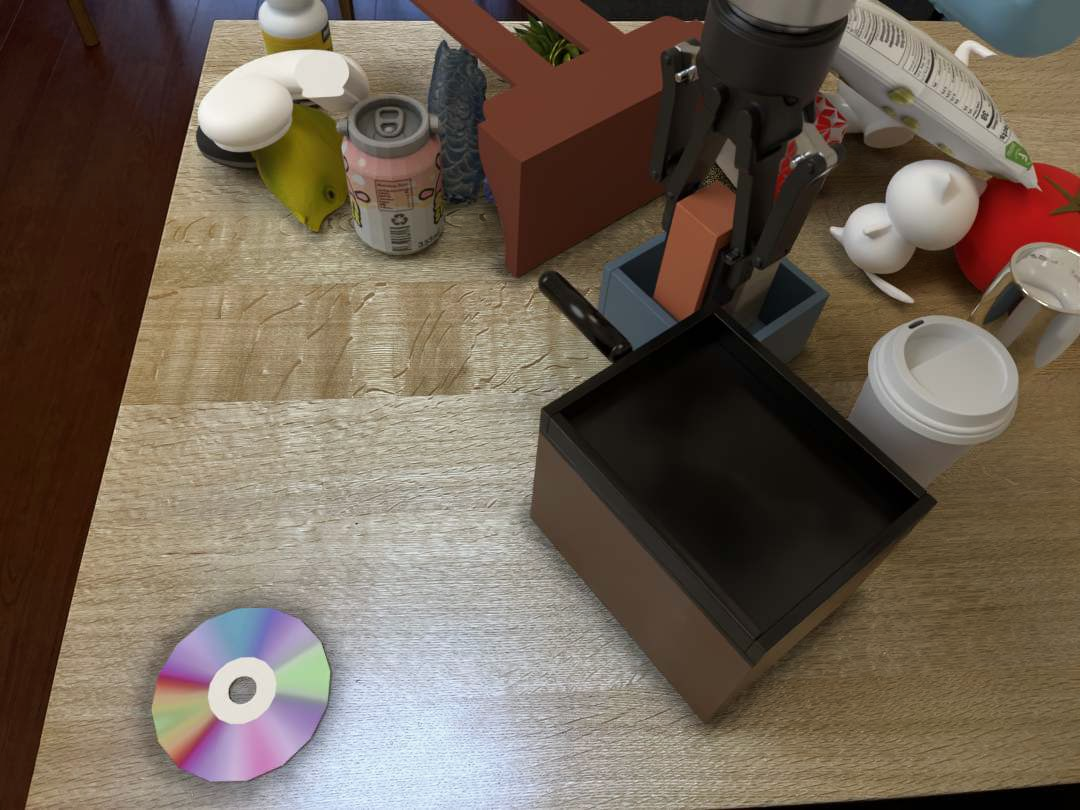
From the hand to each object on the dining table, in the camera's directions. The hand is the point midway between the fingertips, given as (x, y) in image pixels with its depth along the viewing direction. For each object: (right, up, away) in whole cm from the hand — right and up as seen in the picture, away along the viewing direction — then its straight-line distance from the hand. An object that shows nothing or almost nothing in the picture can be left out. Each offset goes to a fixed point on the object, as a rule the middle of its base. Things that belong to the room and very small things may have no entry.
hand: (694, 285), depth 66 cm
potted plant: (-9, +18, +22) cm, 30 cm away
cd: (-31, -27, -10) cm, 42 cm away
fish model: (-20, +18, +21) cm, 34 cm away
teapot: (+23, +17, +21) cm, 36 cm away
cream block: (+4, -2, +9) cm, 10 cm away
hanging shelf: (-4, +12, +10) cm, 16 cm away
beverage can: (-25, +7, +14) cm, 29 cm away
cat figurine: (+17, +3, +14) cm, 22 cm away
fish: (-38, +13, +11) cm, 41 cm away
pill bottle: (-36, +23, +24) cm, 49 cm away
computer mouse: (-39, +18, +15) cm, 45 cm away
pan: (-4, -17, -1) cm, 18 cm away
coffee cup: (+14, -15, +2) cm, 20 cm away
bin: (+2, -4, +8) cm, 9 cm away
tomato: (+30, +3, +14) cm, 34 cm away
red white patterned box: (+11, +14, +20) cm, 27 cm away
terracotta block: (0, -1, +2) cm, 2 cm away
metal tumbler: (+23, -9, +7) cm, 26 cm away
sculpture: (-33, +16, +10) cm, 38 cm away
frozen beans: (+9, +26, +7) cm, 28 cm away
